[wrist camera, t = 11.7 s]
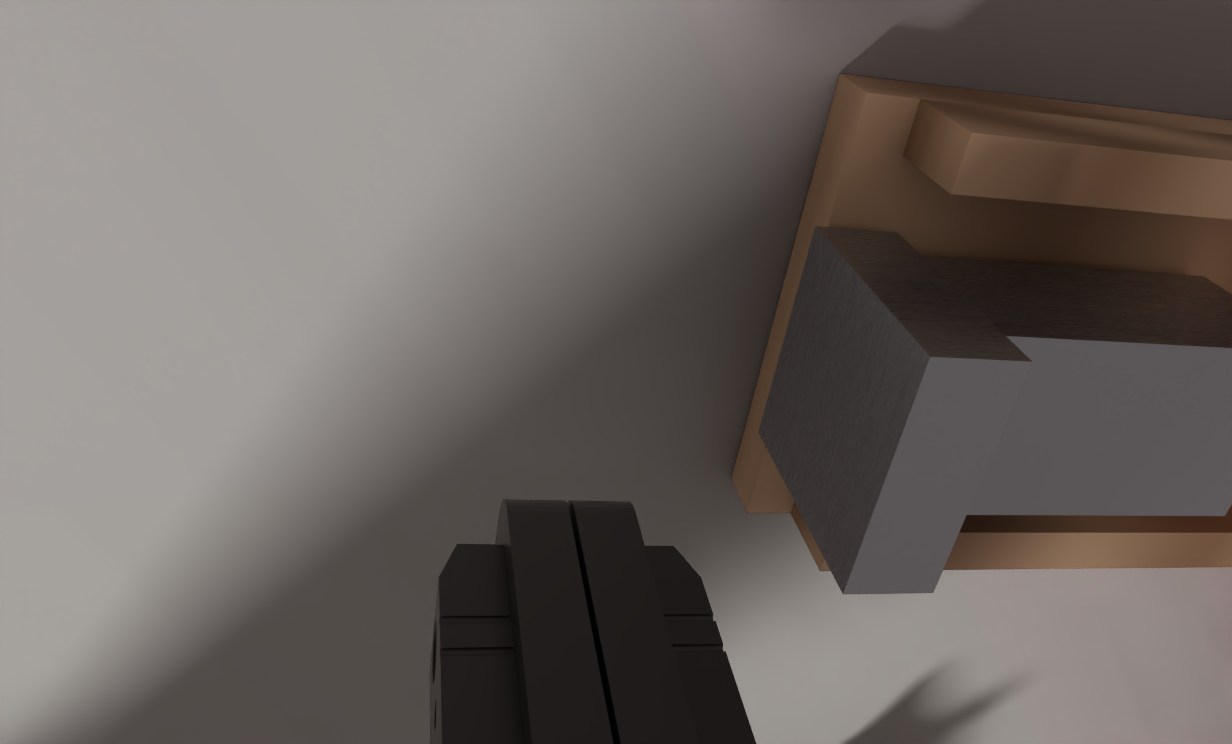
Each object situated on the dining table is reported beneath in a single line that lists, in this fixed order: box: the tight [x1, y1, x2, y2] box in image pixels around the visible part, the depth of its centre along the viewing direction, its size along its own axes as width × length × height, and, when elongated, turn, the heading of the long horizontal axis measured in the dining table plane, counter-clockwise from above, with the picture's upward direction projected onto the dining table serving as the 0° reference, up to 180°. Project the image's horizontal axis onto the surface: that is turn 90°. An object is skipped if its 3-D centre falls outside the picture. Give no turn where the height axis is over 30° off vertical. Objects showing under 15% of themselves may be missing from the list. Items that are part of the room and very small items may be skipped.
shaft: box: [758, 226, 1232, 594], centre depth 17 cm, size 8×4×4 cm, turn 80°
